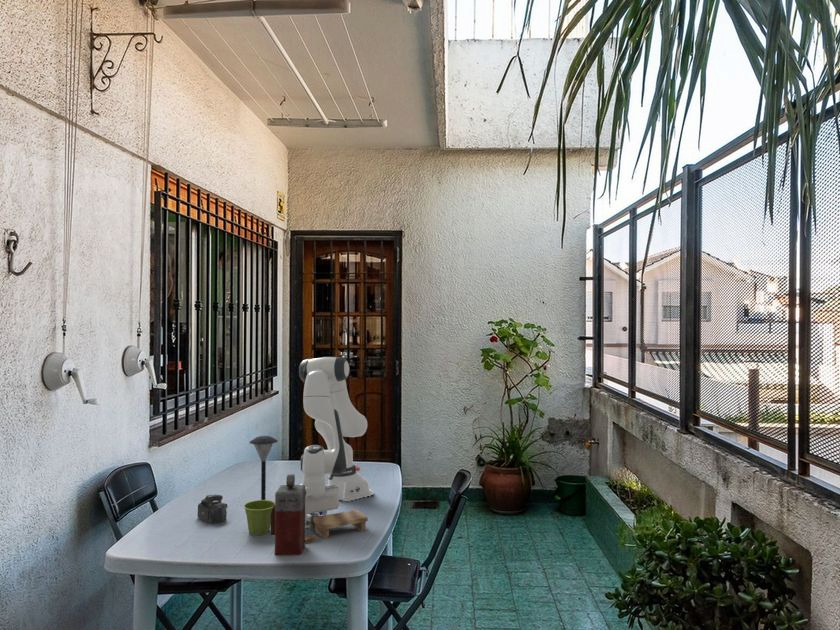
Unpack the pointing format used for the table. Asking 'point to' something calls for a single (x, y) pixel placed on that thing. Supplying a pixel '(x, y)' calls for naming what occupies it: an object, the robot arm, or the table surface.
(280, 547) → the red grey canister
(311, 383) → the robot arm
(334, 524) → the stand
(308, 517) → the housing
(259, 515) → the plant pot
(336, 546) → the table surface
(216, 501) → the camera
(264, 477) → the solar garden light
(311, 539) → the tan wooden block
